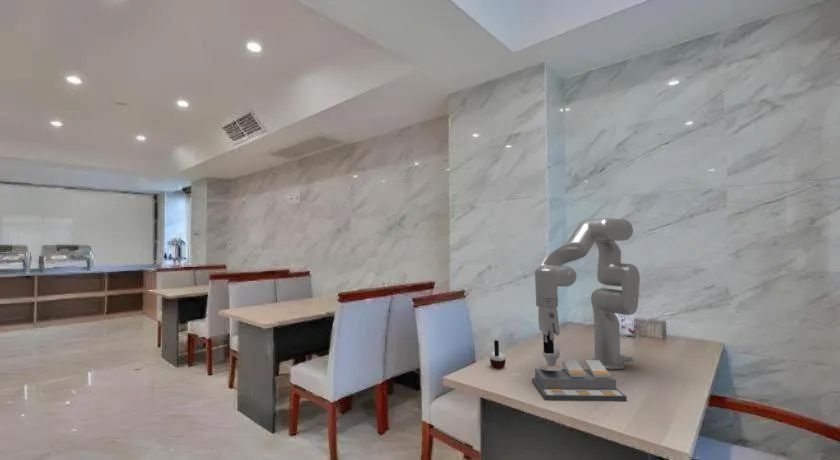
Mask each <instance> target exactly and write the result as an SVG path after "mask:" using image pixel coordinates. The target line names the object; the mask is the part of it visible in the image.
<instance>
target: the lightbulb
mask: <svg viewBox="0 0 840 460" xmlns="http://www.w3.org/2000/svg"><path fill="white" fill-rule="evenodd" d="M542 356H543V358H544V360H545V361H546V366H557V365H556V364H557V361H558V359H559V358H560V349H559V348H558V347H557V346H556V345H555V344H554V353H547V354H546V353H545V352H544V347H543V349H542Z"/></svg>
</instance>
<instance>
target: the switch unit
mask: <svg viewBox="0 0 840 460" xmlns="http://www.w3.org/2000/svg"><path fill="white" fill-rule="evenodd" d="M582 369H583V371H584V372H585V373H586V377H570V375H569V374H568V372H567V370H566V369H565V368H562V371H546V370H541V369H540V368H534V377H531V382H532V384H533V385H534V387H535V388H536V390H537V391H538V393H539V394H540V395H541V397H542V398H543V400H544V401H582V402H584V401H585V402H586V401H587V402H589V401H596V402H600V401H601V402H627V395H625V394H624V393H623V392H622V391H621V390H619V389H618V388H617V381H616V379H615V378H614V377H613V376H611V375H610V378H594V376H593V375H592V373H591V372H590V370H589V369H588V368H582Z"/></svg>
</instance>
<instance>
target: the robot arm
mask: <svg viewBox="0 0 840 460" xmlns="http://www.w3.org/2000/svg"><path fill="white" fill-rule="evenodd" d="M633 234H634V226H633V224H632V223H631V221H629V220H627V219H623V218H619V219H618V218H606V217H605V218H588V219H584V220H582V221H581V222H580V223H579V224H578V225H577V227H576V228H575V230H574V231H573V233H572V234H571V236H570V237H569V239H568V240H567V242H566V243H564V244H562V245H561V246H560V247H557V248H556V249H554V250H553V251H551V252H550V253H549V254H547V255H546V257H545V258H544V259H543V261H542V262H541V263H540V265H539V267H537V268H536V269H535V271H534V274H535V275H534V281H535V283H534V284H535V306H536V307H538V313H537V314H538V318H537V319H538V329H539V330H540V331H541V332H542V341H543V345H542V346H543V348H544V352H545V353H546V354H547V353H554V345H555V344H554V343H555V342H554V340H555V335H556V336H559V335H560V324H559V314H558V313H559V312H558V307H559V299H558V287H570V286H572V285H574V283H576V280H577V273H576V271H575V269H574V268H572V267H571V266H568V265H565V264H568V263H570V262H575V261H578V260H581V259H583V258H584V257H586V256H587V255H588V253H589V252H590V250H591V248H592V247H593V245H594V243H595V245H596V246H597V247H596V248H597V250H598V261H597V262H598V263H597V270H596V271H597V273H596V274H597V276H596V277H597V278H596V279H597V282H598V283H599V284H602V285H603V286H611V287H612V286H613V287H621V289H615V288H606V287H605V288H603V287H602V288H597V289H595V290H593V292H592V293H591V295H590V301H591V307H592V311H593V312H592V313H593V324H594V325H593V329H594V330H593V331H594V333H593V334H594V337H593V338H594V341H593V342H594V358H591V360H599V361H600V362H601V364H602V365H603V366H604V368H605V369H606V370H610V371H613V370H615V371H618V370H619V371H620V370H623V369H625V363H626V362H627V363H633V362H634V361H633V360H634V359H633V357H632V356H626V355H622V354H621V335H620V334H621V331H620V330H621V329H620V328H621V327H620V326H621V325H620V321H619V318H618V317H617V315H616V314H620V315H624V316H631V315H633V314H635V313H636V312H637V310H638V307H639V296H640V284H641V283H640V282H641V281H640V280H641V279H640V276H641V275H640V271H639V269H638V267H637V266H635V265H634V264H632V263H622V250H621V248H620V247H619V244H617V242H619V241H622V242H624V241H628V240H629V239H630V238H631V237H632V236H633ZM616 241H617V242H616Z"/></svg>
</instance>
